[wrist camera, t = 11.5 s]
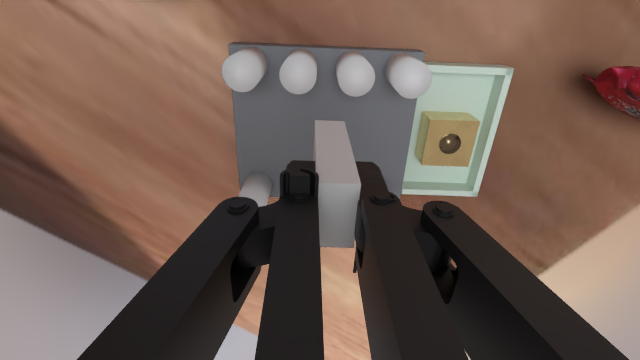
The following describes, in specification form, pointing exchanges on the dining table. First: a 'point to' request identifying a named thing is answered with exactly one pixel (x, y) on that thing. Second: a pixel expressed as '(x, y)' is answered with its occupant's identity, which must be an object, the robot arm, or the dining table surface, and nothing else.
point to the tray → (458, 96)
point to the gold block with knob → (446, 138)
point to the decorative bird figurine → (620, 88)
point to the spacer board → (320, 106)
